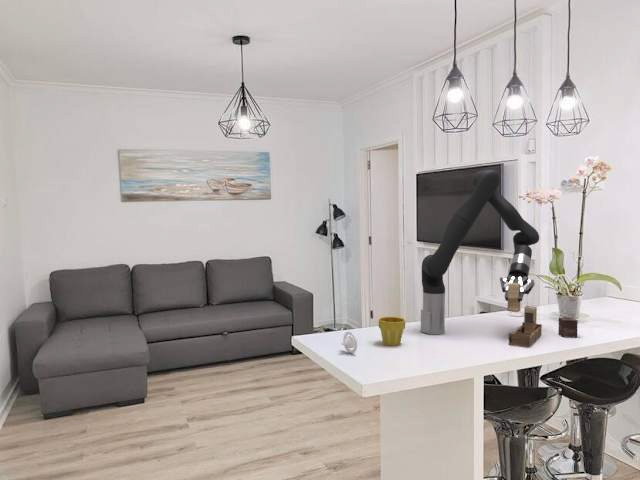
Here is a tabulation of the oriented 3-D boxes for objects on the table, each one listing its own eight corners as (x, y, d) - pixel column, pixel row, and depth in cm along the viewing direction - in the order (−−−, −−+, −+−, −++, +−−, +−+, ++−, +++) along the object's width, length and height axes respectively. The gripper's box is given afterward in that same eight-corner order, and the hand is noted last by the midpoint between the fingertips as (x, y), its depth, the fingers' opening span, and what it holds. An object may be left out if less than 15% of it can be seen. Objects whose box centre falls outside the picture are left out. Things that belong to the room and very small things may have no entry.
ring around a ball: (360, 354, 186) (360, 332, 185) (348, 357, 183) (348, 334, 182) (347, 349, 192) (347, 328, 192) (335, 351, 189) (335, 330, 189)
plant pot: (402, 348, 194) (402, 322, 194) (375, 345, 198) (375, 320, 197) (407, 341, 204) (407, 317, 203) (381, 339, 208) (382, 315, 207)
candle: (525, 314, 257) (526, 265, 255) (522, 317, 251) (523, 266, 249) (510, 313, 261) (511, 264, 259) (507, 315, 255) (508, 265, 253)
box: (577, 338, 210) (578, 320, 210) (561, 337, 211) (562, 319, 211) (573, 334, 216) (573, 317, 216) (558, 333, 217) (558, 316, 217)
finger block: (517, 312, 204) (518, 284, 203) (507, 311, 206) (508, 283, 205) (520, 310, 207) (520, 283, 207) (509, 309, 209) (510, 282, 209)
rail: (529, 347, 195) (530, 316, 194) (508, 344, 199) (509, 314, 198) (541, 335, 215) (542, 306, 214) (522, 332, 219) (523, 304, 218)
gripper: (501, 260, 215) (493, 293, 206) (537, 262, 208) (530, 296, 198) (503, 271, 220) (496, 304, 210) (539, 274, 212) (533, 307, 203)
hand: (513, 300), depth 204 cm, fingers closed on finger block, 4 cm apart
